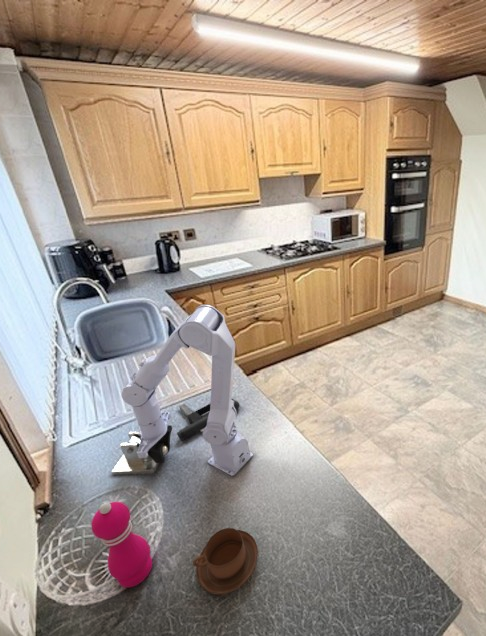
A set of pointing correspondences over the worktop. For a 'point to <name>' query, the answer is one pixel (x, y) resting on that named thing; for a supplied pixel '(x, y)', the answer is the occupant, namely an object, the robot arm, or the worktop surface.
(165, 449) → the lever
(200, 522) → the worktop surface
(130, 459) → the bracket
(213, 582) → the cup and saucer
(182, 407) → the door handle
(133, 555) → the pepper mill
